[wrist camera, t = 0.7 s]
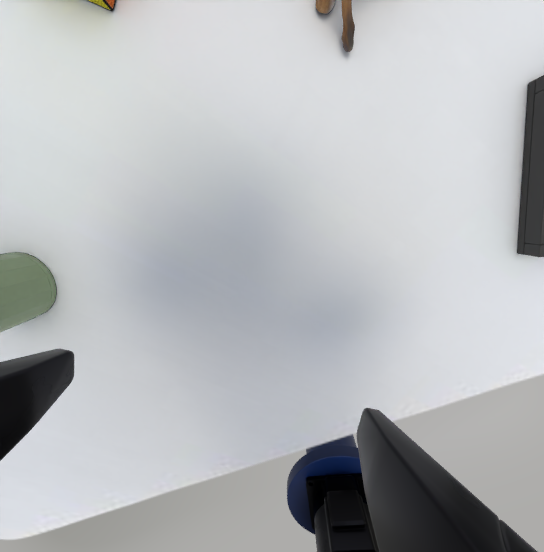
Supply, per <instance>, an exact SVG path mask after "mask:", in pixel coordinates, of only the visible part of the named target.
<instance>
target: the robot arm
mask: <svg viewBox="0 0 544 552" xmlns="http://www.w3.org/2000/svg"><path fill="white" fill-rule="evenodd" d="M73 377H74V353H73V352H72V351H69V350H64V349H55V350H50V351H46V352H42V353H38V354H33V355H29V356H25V357H21V358H16V359H12V360H8V361H4V362H0V461H1V460H2V459H3V458H4V457H5V456H6V455H7V454H8V453H9V452H10V451H11V450H12V449H13V448H14V447H15V446H16V445H17V444H18V443H19V441H20V440H21V439H22V438H23V437H24V436H25V435H26V434H27V433H28V432H29V431H30V430H31V429H32V428H33V427H34V426H35V424H36V423H37V422H38V421H39V420H40V419H41V418H42V416H43V415H44V414H45V413H46V412H47V410H48V409H49V408H50V407H51V406H52V405H53V403H54V402H55V401H56V400H57V399H58V397H59V396H60V395H61V394H62V393H63V392H64V390H65V389H66V388H67V387H68V386H69V384H70V383H71V382H72V380H73ZM357 443H358V449H359V456H360V463H361V470H362V473H351V474H336V475H320V476H309V477H307V478H306V489H307V496H308V503H309V510H310V518H311V525H312V529H313V530H315V534H316V544H317V552H537V551H536V550H535V549H534V548H533V547H531V546H530V545H529V544H528V543H526V542H525V540H523V539H522V538H521V537H520V536H519V535H518V534H517V533H516V532H514V531H513V530H512V529H511V528H510V527H509V526H508V525H507V524H506V523H505V522H503V521H502V520H499V519H498V517H497V515H495V514H494V513H493V512H492V511H491V510H490V509H489V508H488V507H487V506H485V505H484V504H483V503H482V502H481V501H480V500H479V499H478V498H476V497H475V496H474V495H473V494H472V493H471V492H470V491H468V490H467V489H466V488H465V487H464V486H463V485H462V484H461V483H460V482H459V481H457V480H456V479H455V478H454V477H453V476H452V475H451V474H450V473H448V472H447V471H446V470H445V469H444V468H443V467H442V466H441V465H440V464H438V463H437V462H436V461H435V460H434V459H433V458H432V457H431V456H430V455H428V454H427V453H426V452H425V451H424V450H423V449H422V448H421V447H420V446H418V445H417V444H416V443H415V442H414V441H412V439H411V438H409V437H408V436H407V435H406V434H405V433H404V432H402V430H401V429H399V428H398V427H397V426H396V425H395V424H394V423H393V422H392V421H390V420H389V419H388V418H387V417H386V416H385V415H384V414H383V413H382V412H380V411H379V410H376V409H370V408H365V409H364V411H363V413H362V416H361V420H360V423H359V426H358V430H357Z"/></svg>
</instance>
